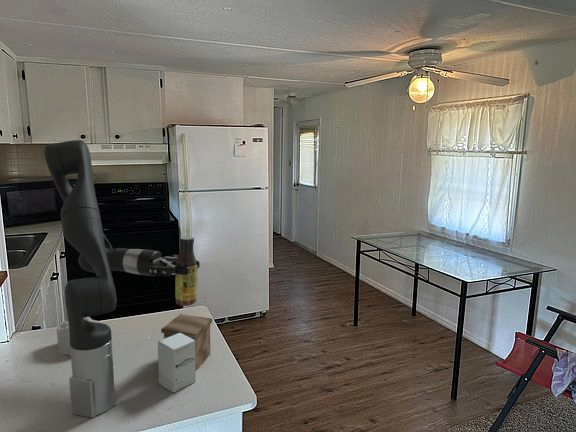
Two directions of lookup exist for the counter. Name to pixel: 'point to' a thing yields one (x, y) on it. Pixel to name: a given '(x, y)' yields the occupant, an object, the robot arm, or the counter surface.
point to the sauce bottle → (186, 283)
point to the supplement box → (176, 361)
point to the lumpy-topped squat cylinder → (66, 336)
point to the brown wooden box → (192, 334)
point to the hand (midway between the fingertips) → (193, 267)
